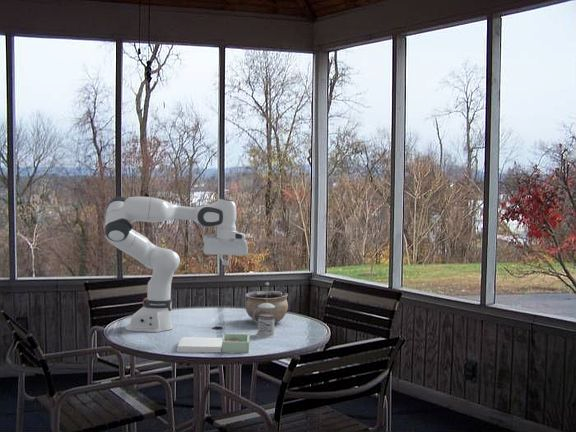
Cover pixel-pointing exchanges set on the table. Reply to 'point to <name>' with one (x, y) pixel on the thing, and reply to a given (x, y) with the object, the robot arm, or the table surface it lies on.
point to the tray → (236, 343)
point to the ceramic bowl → (267, 297)
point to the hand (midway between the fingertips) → (225, 264)
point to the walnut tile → (233, 340)
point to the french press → (265, 321)
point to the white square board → (200, 344)
